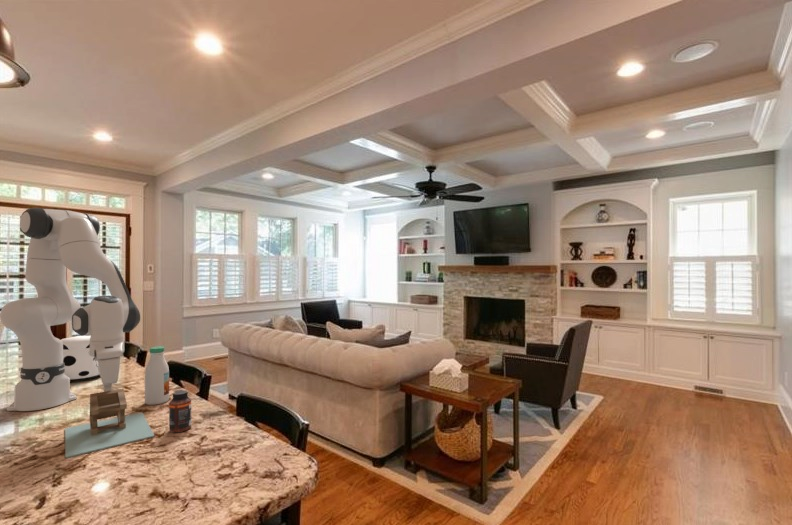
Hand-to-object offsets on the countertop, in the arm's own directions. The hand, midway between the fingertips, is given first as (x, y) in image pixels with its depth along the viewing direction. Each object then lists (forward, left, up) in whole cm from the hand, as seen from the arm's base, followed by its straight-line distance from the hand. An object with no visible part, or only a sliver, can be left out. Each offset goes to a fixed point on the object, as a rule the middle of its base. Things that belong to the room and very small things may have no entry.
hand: (107, 392), depth 124 cm
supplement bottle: (+18, +17, -11) cm, 27 cm away
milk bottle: (-15, +16, -11) cm, 24 cm away
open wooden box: (+3, 0, -9) cm, 9 cm away
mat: (+7, 0, -10) cm, 13 cm away
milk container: (-73, -4, -11) cm, 74 cm away
